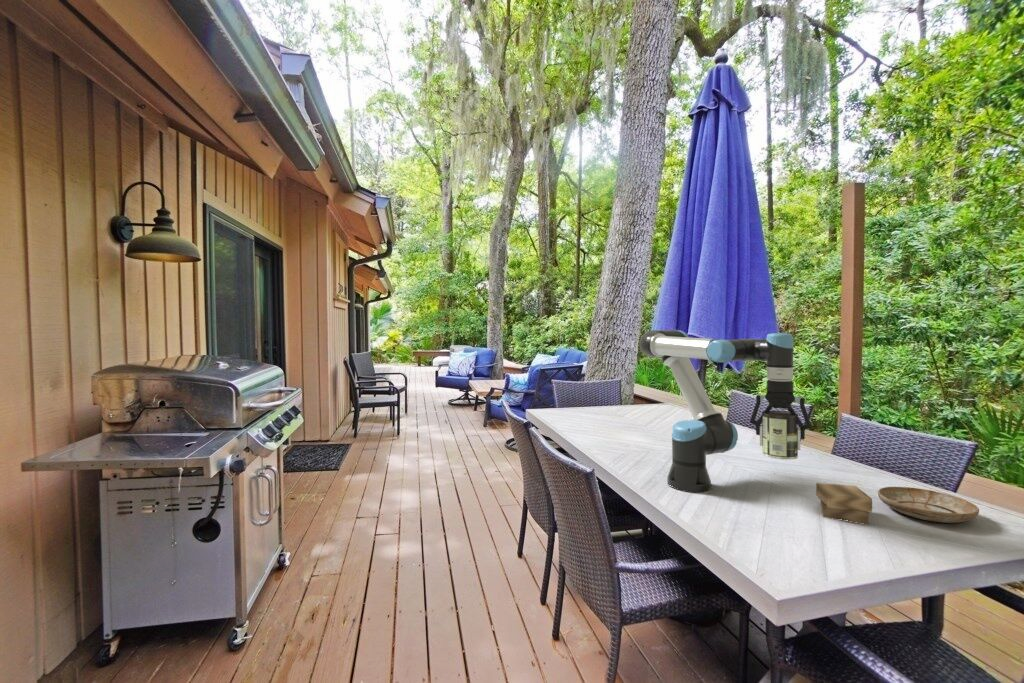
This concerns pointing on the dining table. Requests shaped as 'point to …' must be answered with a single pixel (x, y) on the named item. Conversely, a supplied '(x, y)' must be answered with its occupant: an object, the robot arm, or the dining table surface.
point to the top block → (844, 497)
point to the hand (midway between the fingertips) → (779, 446)
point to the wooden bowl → (928, 504)
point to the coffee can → (780, 435)
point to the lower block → (844, 514)
